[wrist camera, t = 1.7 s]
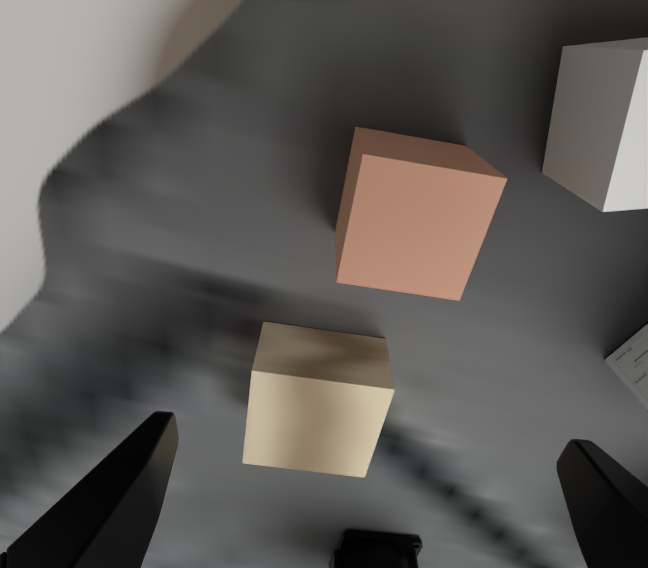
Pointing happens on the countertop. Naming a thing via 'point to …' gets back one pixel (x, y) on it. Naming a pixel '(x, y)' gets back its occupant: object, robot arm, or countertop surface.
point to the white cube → (601, 124)
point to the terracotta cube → (413, 214)
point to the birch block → (317, 400)
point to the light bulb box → (633, 365)
